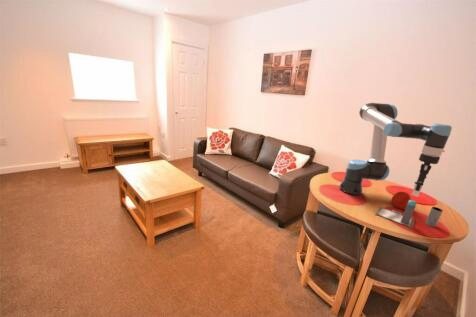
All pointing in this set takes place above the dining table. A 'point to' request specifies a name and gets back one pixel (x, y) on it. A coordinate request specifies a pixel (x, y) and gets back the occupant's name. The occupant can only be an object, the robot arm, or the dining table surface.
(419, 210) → the dining table surface
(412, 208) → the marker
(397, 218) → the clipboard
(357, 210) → the dining table surface
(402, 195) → the apple
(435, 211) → the grey hollow cylinder
